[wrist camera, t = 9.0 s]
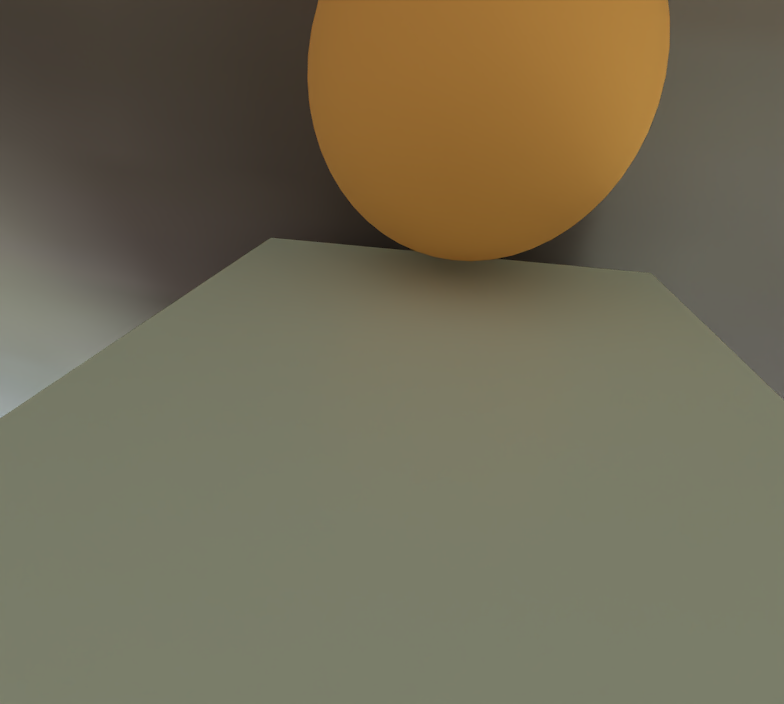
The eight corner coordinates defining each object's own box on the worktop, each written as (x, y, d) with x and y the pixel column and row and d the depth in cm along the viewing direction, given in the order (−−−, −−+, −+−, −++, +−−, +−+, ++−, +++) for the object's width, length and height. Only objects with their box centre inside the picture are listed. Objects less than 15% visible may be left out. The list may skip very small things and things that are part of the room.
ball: (649, -68, 7) (895, -303, 3) (571, 232, 10) (647, 333, 6) (354, -78, 8) (215, -292, 4) (350, 210, 10) (263, 288, 6)
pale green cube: (650, 272, 9) (1890, 1463, 1) (559, 538, 12) (694, 1217, 5) (270, 237, 10) (-513, 761, 2) (292, 495, 13) (54, 1013, 6)
